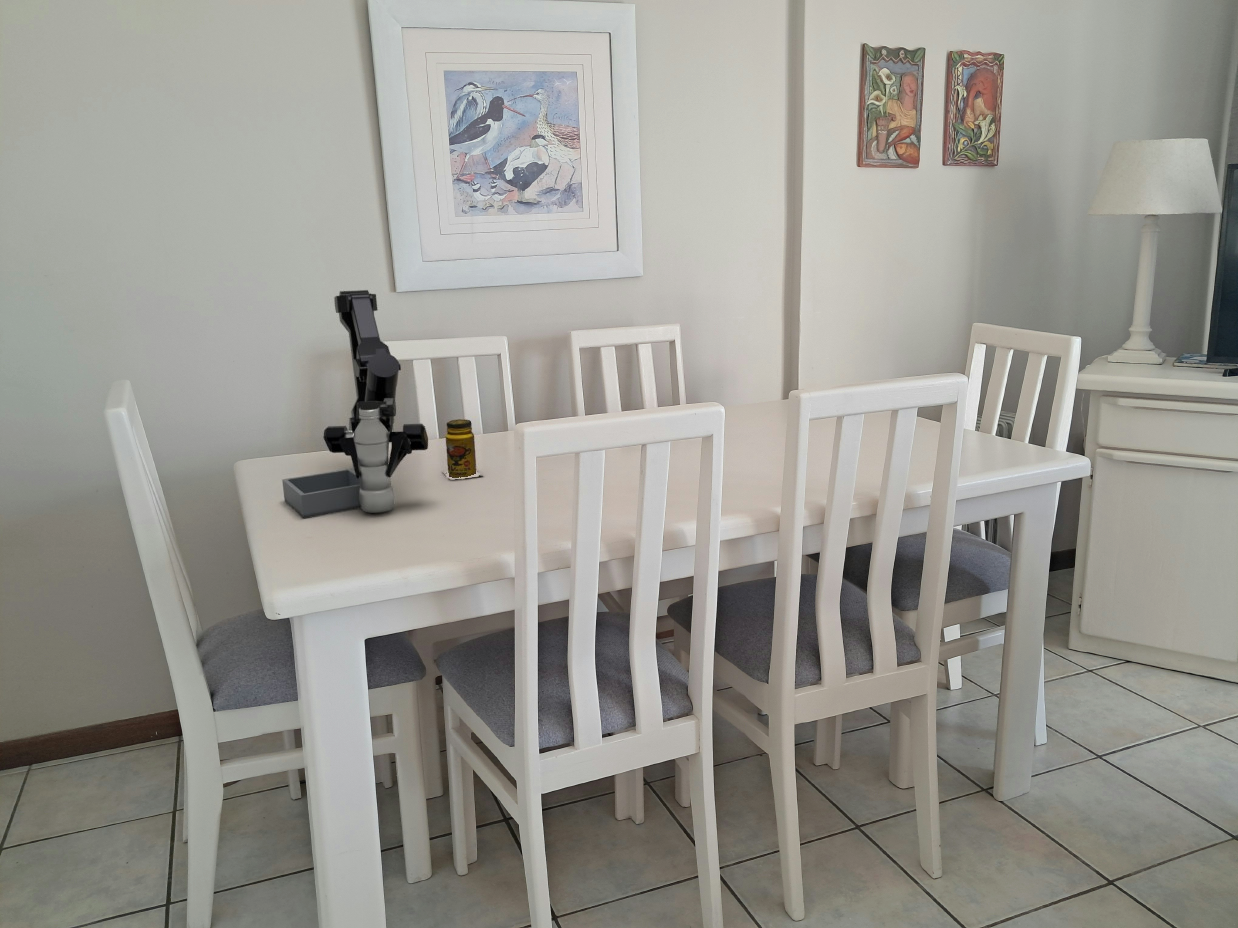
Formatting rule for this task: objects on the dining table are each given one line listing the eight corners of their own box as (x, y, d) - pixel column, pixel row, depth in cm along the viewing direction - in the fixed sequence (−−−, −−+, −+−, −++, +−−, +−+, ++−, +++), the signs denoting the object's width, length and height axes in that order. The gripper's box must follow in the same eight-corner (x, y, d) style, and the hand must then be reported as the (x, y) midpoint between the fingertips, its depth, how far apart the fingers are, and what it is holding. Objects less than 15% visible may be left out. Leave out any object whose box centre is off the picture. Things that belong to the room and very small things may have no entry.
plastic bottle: (378, 519, 171) (369, 413, 166) (352, 513, 175) (342, 409, 169) (403, 509, 177) (395, 406, 171) (377, 503, 180) (369, 402, 175)
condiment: (450, 481, 196) (446, 426, 192) (441, 472, 203) (437, 418, 200) (483, 477, 198) (480, 422, 195) (473, 468, 206) (470, 415, 203)
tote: (352, 489, 191) (350, 468, 190) (374, 505, 180) (372, 483, 178) (284, 501, 183) (282, 479, 182) (303, 518, 172) (301, 495, 171)
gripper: (320, 384, 173) (311, 456, 165) (421, 381, 174) (417, 453, 166) (334, 417, 183) (326, 486, 175) (430, 414, 184) (426, 483, 176)
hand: (373, 476), depth 173 cm, fingers open, 5 cm apart
